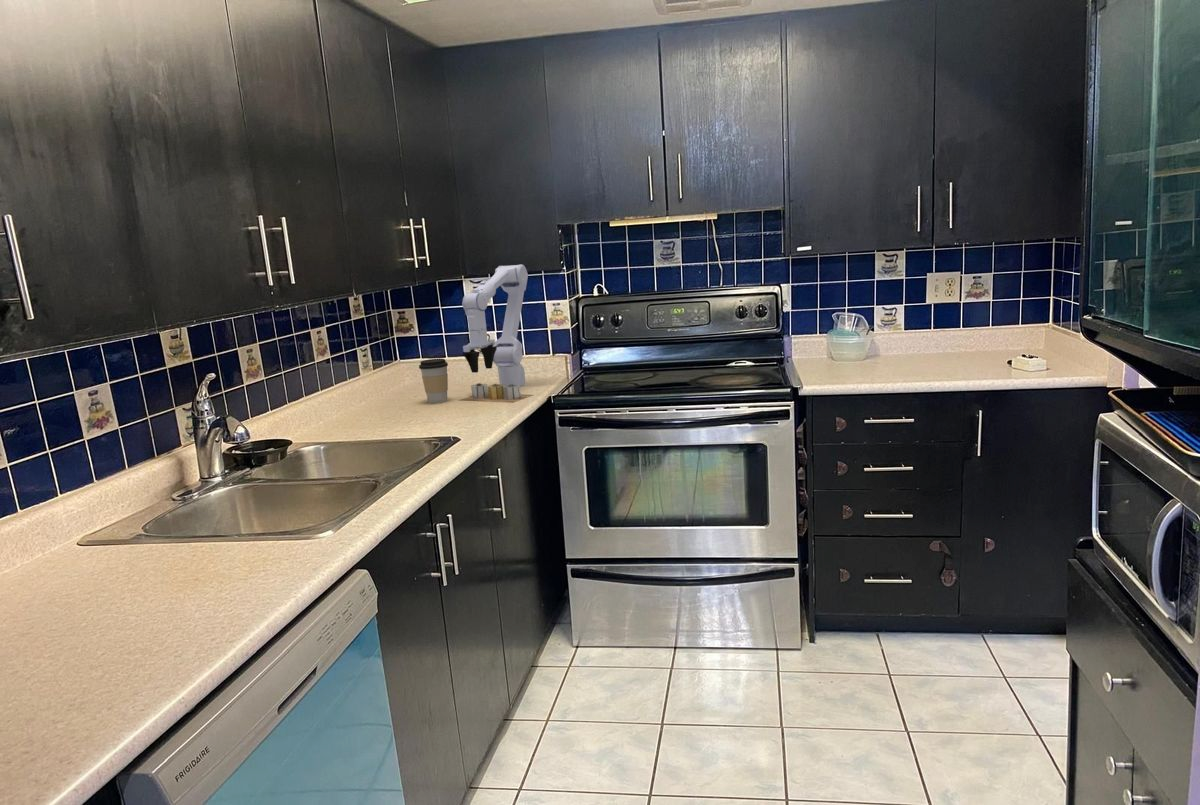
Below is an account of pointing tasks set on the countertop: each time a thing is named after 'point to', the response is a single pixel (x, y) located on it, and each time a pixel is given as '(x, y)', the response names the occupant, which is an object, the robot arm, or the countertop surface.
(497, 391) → the brass gear
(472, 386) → the steel gear
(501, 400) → the gear board
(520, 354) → the robot arm
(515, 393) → the steel gear
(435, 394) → the coffee cup
